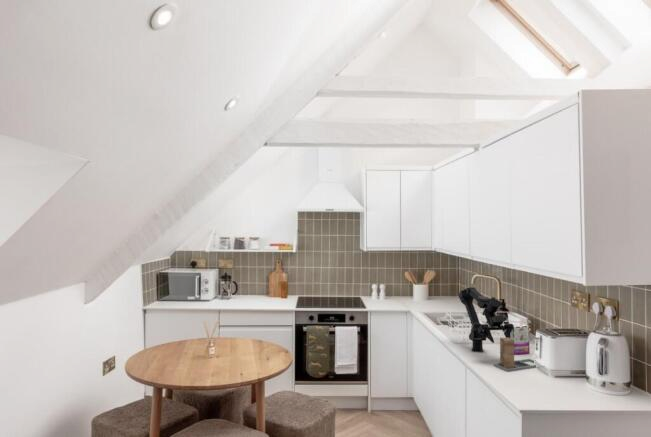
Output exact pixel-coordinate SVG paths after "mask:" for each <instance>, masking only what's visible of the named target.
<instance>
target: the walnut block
mask: <svg viewBox="0 0 651 437" xmlns="http://www.w3.org/2000/svg"><path fill="white" fill-rule="evenodd" d="M499 354H500V356H499V363H500V366H502V367H505V368H507V369H510V368H514V361H515V355H514V340H513V339H511V338H506V337H500V338H499Z"/></svg>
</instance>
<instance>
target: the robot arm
mask: <svg viewBox="0 0 651 437" xmlns="http://www.w3.org/2000/svg"><path fill="white" fill-rule="evenodd" d="M458 298H459V300H460V302H461V303H462V304H463V305H464V307H465V309H466V312H467V315H468V318H469V321H470V324H471V327H470V328H471V329H470V332H469V334H468V339H469V340H470V341H471V342H472V345H471V346H472V347H471V351H472V352H479V353H483V352H484V351H485V350H484V348H483V347H484V346H483V345H484V344H483V342H485V341H487V339H488V340H489V341H490V342H491V343H493V344H494V343H495V340H494V337H493V335H492V333H491V331H502V332H503V335H504V336H505V337H504V338H510V333H511V332H512V330H513V329H514V326H513V325H514V324H513V323H505V324H504V325H503V323H504V322H505V321H508V318H507V315H506V314H501V315H496V313H498V310H499V309H501V305H502V302H501V301H500V300H499V299H497V298H496V297H493V296H492V297H488V296H484V295H483V294H482V293H480V291H478V290H477V289H476V287H472V286H471V287H469V286H468V287H466V288H465V289H463V290H461V291H460V292H459V293H458ZM474 300H475V302H477V306H478V308H479V309H483V311H482V314H481V315H482V316H484V317H485V319H486V320H485V323H480V320H479V317H478V314H477V311H476V309H475V306H474V302H473V301H474ZM502 325H503V326H502Z"/></svg>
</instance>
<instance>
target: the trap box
mask: <svg viewBox="0 0 651 437" xmlns="http://www.w3.org/2000/svg"><path fill="white" fill-rule="evenodd" d="M534 361H535V360H534V359H531V358H526V359H524V358H523V359H518V360H514V368H510V369H507V368H505V367H502V366H500V362H496V363H493V367H495V368H498V369H500V370H501V371H505V372H507V373H510V372H517V371H523V370H529V369H536V365H534Z"/></svg>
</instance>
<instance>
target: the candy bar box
mask: <svg viewBox="0 0 651 437" xmlns="http://www.w3.org/2000/svg"><path fill="white" fill-rule="evenodd" d="M513 326H514V329H513V330H512V332H511V333H510V338H511V339H513V340H514V356H521V355H528V354H529V355H530V352H531V351H530V326H529V325H528V324H522V323H521V324H513Z"/></svg>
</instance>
